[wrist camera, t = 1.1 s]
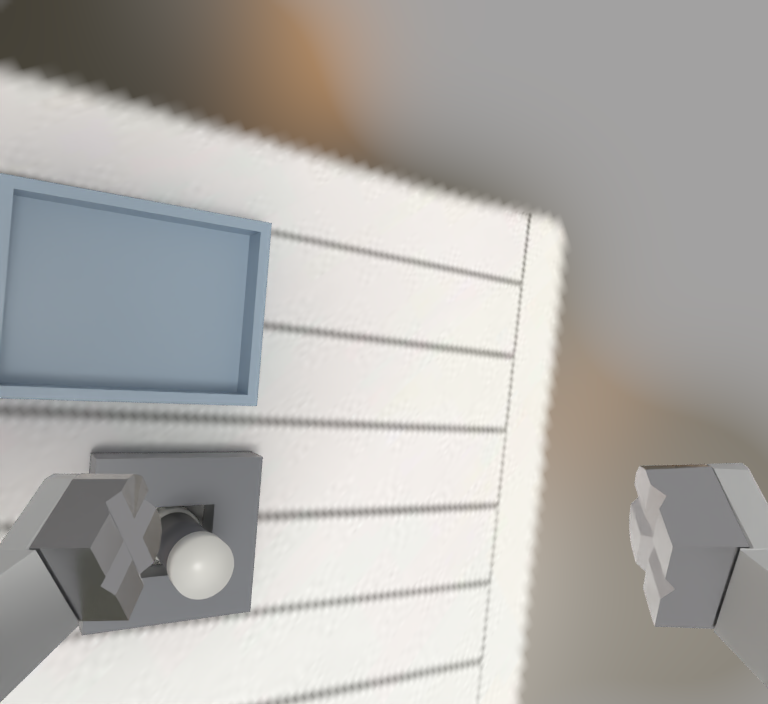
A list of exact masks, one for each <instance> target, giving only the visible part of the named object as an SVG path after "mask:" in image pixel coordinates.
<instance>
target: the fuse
mask: <svg viewBox="0 0 768 704" xmlns="http://www.w3.org/2000/svg"><path fill="white" fill-rule="evenodd" d="M157 511H158V513H159V516H160V519H161V526H162V535H161V543H160V549H159V551H158V554H157V556H156V558H155V559H156V560H158V561H160V562H161V563H162V565H163V566H164V567H165V569H166V570H167V574H168V577H169V579H170V581H171V582H172V583H173V585H174V586H175V587H176V589H177V590H178V591H179V592H180V593H181V594H182V595H183V596H185V597H187V598H190V599H195V600H200V599H206V598H209V597H211V596H214V595H215V594H217V593H218V592H220V591H221V590H222V589H223V588H224V587H225V586H226V584H227V583H228V581H229V580H230V578H231V576H232V573H233V569H234V557H233V554H232V551H231V549H230V548H229V546H228V545H227V544H226V543H225V542H223V541H222V540H221V539H220V538H219V537H218V536H216V535H215V534H213V533H210V532H208V531H207V530H206V529H204V528H203V527H202V526H201V525H200V523H199V521H198V519H197V518H196V517H195V516H194V515H193V514H192V513H191V512H190V511H189V510H188V509H186V508H184V507H182V506H171V507H161V508H159V509H157Z"/></svg>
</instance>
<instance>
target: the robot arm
mask: <svg viewBox="0 0 768 704" xmlns="http://www.w3.org/2000/svg"><path fill="white" fill-rule="evenodd" d="M635 487H636V490H637V493H638V496H639V497H638V498H637V499H636V500H635V501H634V502H633V503H631V509H630V516H629V528H630V540H631V546H632V550H633V554H634V558H635V561H636V563H637V564H638V565H639V566H640V567H641V568H642V569H643V570H645V571H646V575H645V580H644V586H643V589H644V593H645V596H646V600H647V603H648V606H649V610H650V613H651V616H652V620H653V623H654V626H656V627H683V628H710V629H714V632H715V633H716V634H717V635H718V636H719V638H720V639H721V640H722V641H724V643H725V644H726V645H727V646H728V647H729V648H730V649H731V650H732V651H733V652H734V653H735V654H736V655H737V656H738V657H739V658H740V660H741V661H742V662H743V663H744V664H745V665H746V666H747V667H748V668H749V669H750V670H751V671H752V672H753V673H754V674H755V675H756V676H757V677H758V678H759V680H760V681H761V682H762V683H763V684H764V685H765V686H766V687H767V688H768V503H767V501H766V500H765V498H764V496H763V494H762V492H761V490H760V489H759V487H758V485H757V483H756V481H755V479H754V477H753V476H752V474H751V472H750V470H749V468H748V467H747V466H745V465H744V464H743V463H728V464H727V463H726V464H707V465H705V464H689V465H652V466H639V468H638V470H637V473H636V479H635ZM148 490H149V489H148V487H147V485H146V483H145V481H144V479H143V477H142V476H140V475H136V474H53V475H51V476H49V477H48V478H46V479H45V480H44V481H43V483H42V484H41V486H40V487H39V489H38V490H37V491H36V493H35V494H34V496H33V497H32V499H31V500H30V502H29V503H28V505H27V506H26V507H25V509H24V510H23V512H22V513H21V515H20V516H19V518H18V519H17V521H16V522H15V523H14V525H13V526H12V528H11V529H10V531H9V532H8V534H7V535H6V537H5V538H4V539H3V541H2V542H1V544H0V702H1V701H2V700H3V699H4V698H5V697H6V696H7V695H8V694H9V693H10V692H11V691H12V690H13V689H14V688H15V687H16V686H17V685H18V684H19V683H20V682H21V681H22V680H23V679H24V678H26V677H27V676H28V675H29V674H30V673H31V672H32V671H33V670H34V669H35V668H36V667H37V666H38V665H39V664H40V663H41V662H42V661H43V660H44V659H45V658H46V657H47V656H48V655H49V654H50V653H51V652H52V651H53V650H54V649H55V648H56V647H57V646H58V645H59V644H60V643H61V642H62V641H63V640H64V639H65V638H66V637H67V636H68V635H69V634H70V633H71V632H72V631H73V630H74V629H75V628H77V627H78V626H79V624H80V623H79V621H129V618H130V616H131V614H132V612H133V609H134V607H135V605H136V602H137V600H138V598H139V596H140V593H141V591H142V589H143V586H144V584H143V581H142V578H141V575H140V574H141V573H142V572H143V571H144V570H146V569H147V568H148V567H149V566H150V565H152V564H153V563H154V561H155V558H156V556H157V554H158V551H159V549H160V543H161V535H162V526H161V519H160V516H159V513H158V511H157V508H156V507H154V506H153V505H152V504H150V503H149V502H148V501H146V500H145V499H144V498H145V496H146V494H147V492H148Z"/></svg>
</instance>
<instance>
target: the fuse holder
mask: <svg viewBox="0 0 768 704" xmlns="http://www.w3.org/2000/svg"><path fill="white" fill-rule="evenodd" d="M262 459H263V457H261V456H259V455H257V454H255V453H253V452H165V453H91V458H90V470H89V474H136V475H140V476H142V477H143V479H144V481H145V483H146V485H147V487H148V489H149V490H148V492H147V494H146V496H145V498H144V499H145V500H146V501H148V502H149V503H150V504H152V505H153V506H154V507H171V506H191V505H204V514H203V528H204V529H206V530H207V531H208V532H210V533H213V534H215V535H216V536H218V537H219V538H220V539H221V540H222V541H223V542H225V543H226V544H227V545H228V546H229V548H230V549H231V551H232V554H233V557H234V569H233V573H232V576H231V578H230V580H229V581H228V583H227V584H226V586H225V587H224V588H223V589H222V590H221V591H220V592H218V593H217V594H215V595H214V596H211V597H209V598H206V599H200V600H195V599H190V598H187V597H185V596H183V595H182V594H181V593H180V592H179V591H178V590H177V589H176V587H175V586H174V585H173V583H172V582H171V581H170V579H169V577H168V574H167V570H166V569H165V567H164V566H163V565H162V564H161V565H151V566H149V567H148V568H147V569H146V570H144V571H143V572H142V573H141V574H140V575H141V578H142V581H143V584H144V586H143V589H142V591H141V593H140V596H139V598H138V600H137V602H136V605H135V607H134V609H133V612H132V614H131V616H130V618H129V621H79V623H80V624H79V629H80V632H81V635H87V634H95V633H102V632H109V631H116V630H123V629H130V628H137V627H144V626H151V625H158V624H165V623H172V622H179V621H186V620H194V619H201V618H208V617H215V616H222V615H229V614H236V613H243V612H250V608H251V595H252V583H253V570H254V558H255V546H256V533H257V521H258V508H259V496H260V484H261V471H262Z"/></svg>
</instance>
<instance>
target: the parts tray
mask: <svg viewBox="0 0 768 704" xmlns="http://www.w3.org/2000/svg"><path fill="white" fill-rule="evenodd" d="M271 225H272V223H267V222H262V221H256V220H251V219H246V218H240V217H235V216H229V215H224V214H219V213H213V212H208V211H202V210H197V209H192V208H186V207H181V206H175V205H170V204H165V203H159V202H154V201H148V200H143V199H138V198H132V197H127V196H121V195H116V194H111V193H105V192H100V191H94V190H89V189H84V188H78V187H73V186H67V185H62V184H57V183H51V182H46V181H40V180H35V179H30V178H24V177H19V176H13V175H8V174H3V173H0V398H6V399H40V400H73V401H107V402H140V403H173V404H207V405H240V406H257V398H258V386H259V374H260V361H261V349H262V337H263V324H264V312H265V299H266V287H267V275H268V262H269V250H270V238H271Z"/></svg>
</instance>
